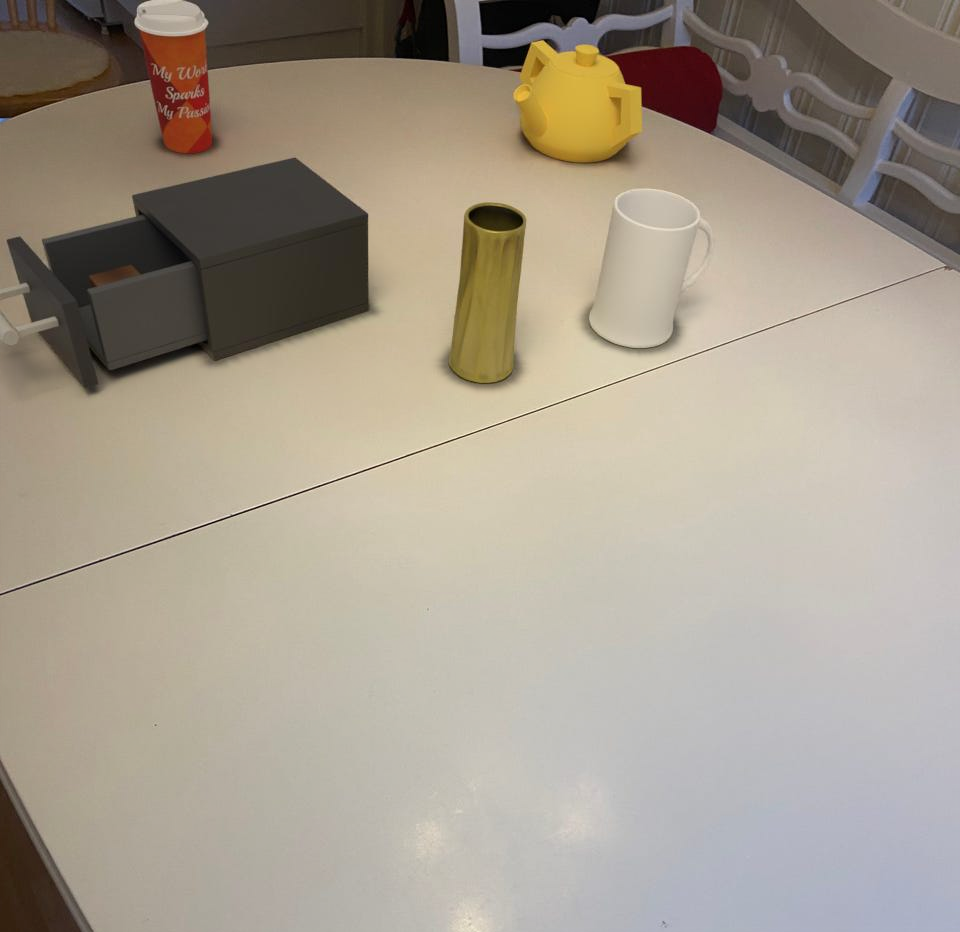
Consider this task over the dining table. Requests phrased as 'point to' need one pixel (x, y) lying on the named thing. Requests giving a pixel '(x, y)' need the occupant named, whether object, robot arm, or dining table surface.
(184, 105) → the paper cup
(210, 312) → the dark grey storage box
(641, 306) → the mug
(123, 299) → the drawer
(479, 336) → the vase
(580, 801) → the dining table surface
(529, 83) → the teapot
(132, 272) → the block
